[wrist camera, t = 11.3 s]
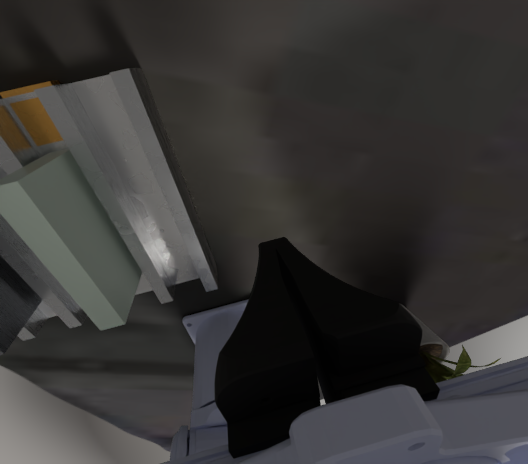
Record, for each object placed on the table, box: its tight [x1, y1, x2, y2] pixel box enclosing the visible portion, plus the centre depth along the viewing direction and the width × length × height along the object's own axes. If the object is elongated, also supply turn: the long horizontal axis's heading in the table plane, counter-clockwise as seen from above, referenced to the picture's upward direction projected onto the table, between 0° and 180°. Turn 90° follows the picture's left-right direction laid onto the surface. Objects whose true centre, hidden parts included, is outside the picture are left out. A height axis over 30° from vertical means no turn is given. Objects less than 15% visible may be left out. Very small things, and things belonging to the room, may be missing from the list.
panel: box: [0, 148, 142, 330], centre depth 17 cm, size 10×2×6 cm, turn 11°
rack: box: [0, 68, 218, 355], centre depth 17 cm, size 16×16×7 cm
